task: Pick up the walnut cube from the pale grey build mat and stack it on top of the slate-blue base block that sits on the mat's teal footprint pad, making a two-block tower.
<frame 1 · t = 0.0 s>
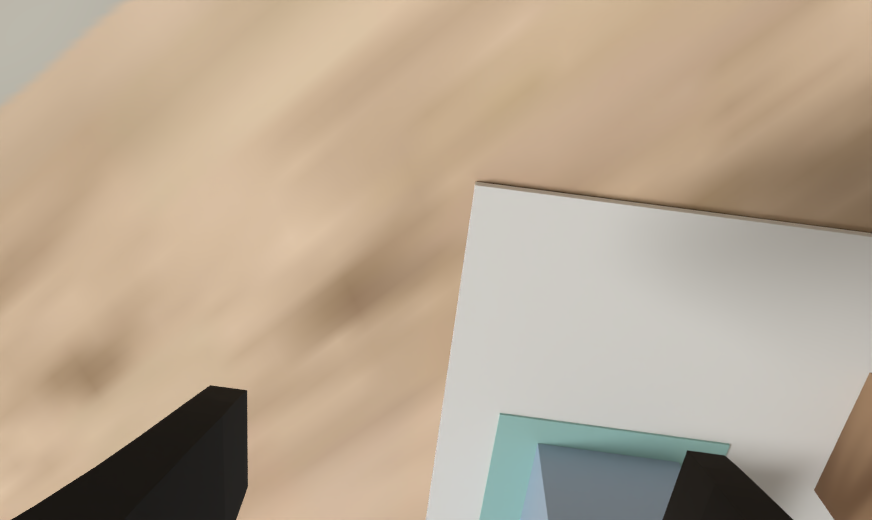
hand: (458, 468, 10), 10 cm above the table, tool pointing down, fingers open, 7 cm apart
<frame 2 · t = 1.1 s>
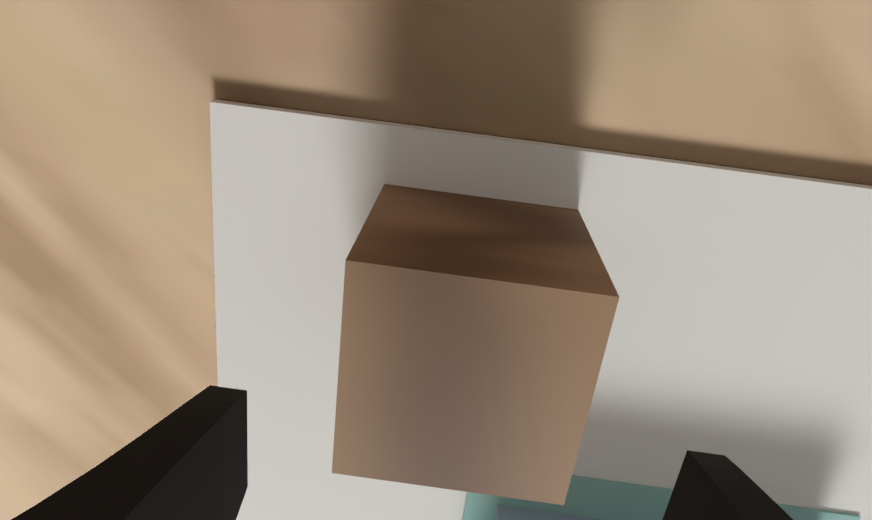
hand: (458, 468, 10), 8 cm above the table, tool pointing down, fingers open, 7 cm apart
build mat: (598, 469, 19), on the table
walnut cube: (467, 284, 17), resting on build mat
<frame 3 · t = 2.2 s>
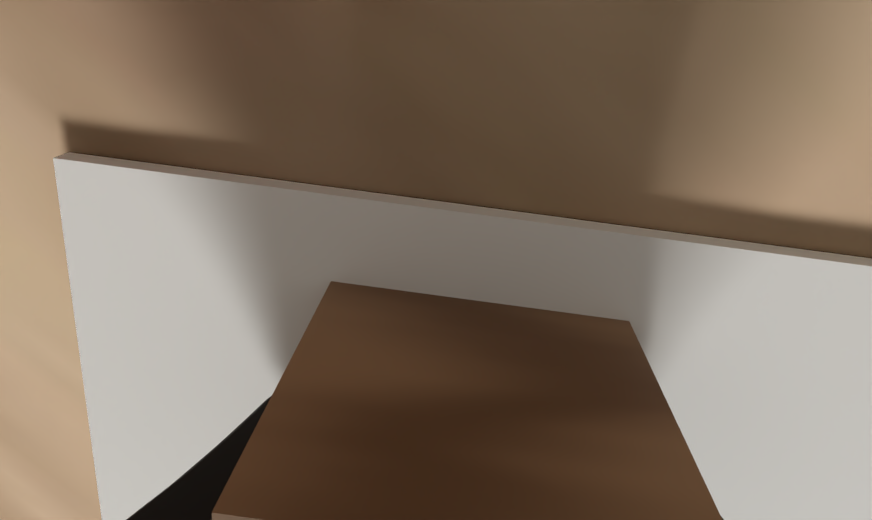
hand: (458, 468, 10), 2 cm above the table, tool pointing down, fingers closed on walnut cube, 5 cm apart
walnut cube: (459, 422, 11), resting on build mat, touching gripper
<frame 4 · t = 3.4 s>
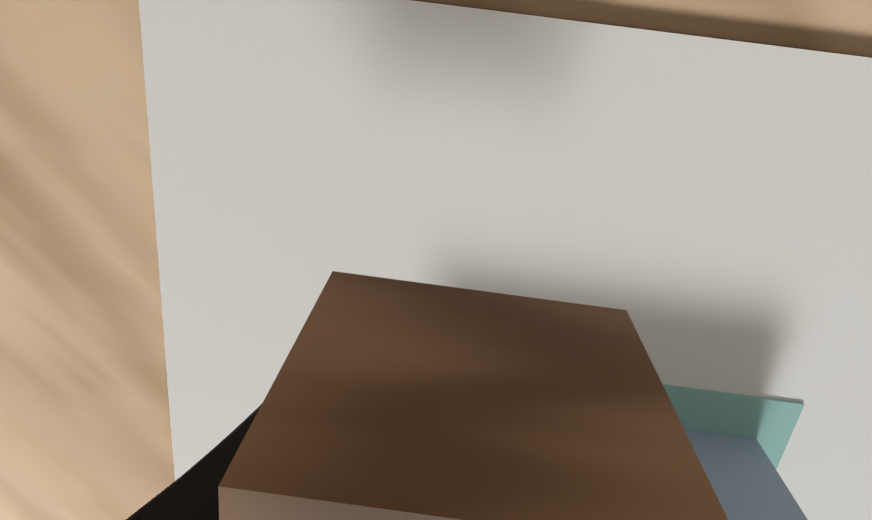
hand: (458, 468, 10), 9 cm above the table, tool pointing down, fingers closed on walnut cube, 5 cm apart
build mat: (544, 362, 19), on the table
walnut cube: (459, 411, 11), point 7 cm above the table, touching gripper
base block: (583, 478, 20), resting on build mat
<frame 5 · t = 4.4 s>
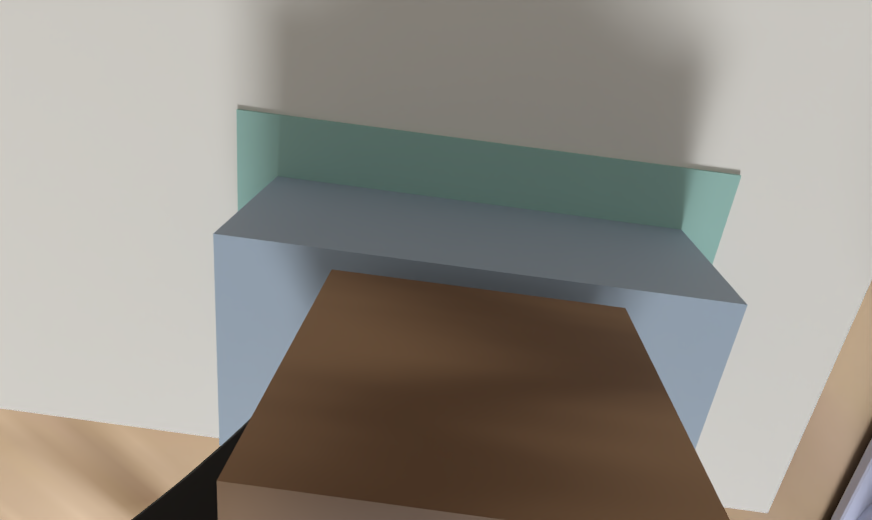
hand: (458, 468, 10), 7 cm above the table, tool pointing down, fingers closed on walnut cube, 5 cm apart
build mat: (406, 127, 15), on the table
walnut cube: (458, 409, 11), point 6 cm above the table, touching gripper
base block: (464, 293, 16), resting on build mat
when the fingers open (7 cm above the table, at t = 4.8 s): walnut cube drops 1 cm, resting on base block.
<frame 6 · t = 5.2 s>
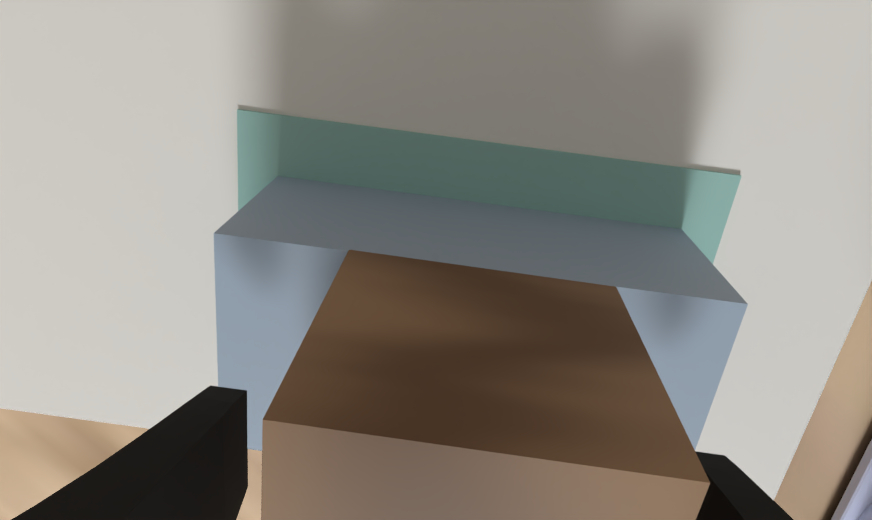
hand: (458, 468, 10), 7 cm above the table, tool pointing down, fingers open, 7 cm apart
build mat: (406, 127, 15), on the table
walnut cube: (463, 380, 12), point 4 cm above the table, touching base block
base block: (465, 292, 16), resting on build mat, touching walnut cube
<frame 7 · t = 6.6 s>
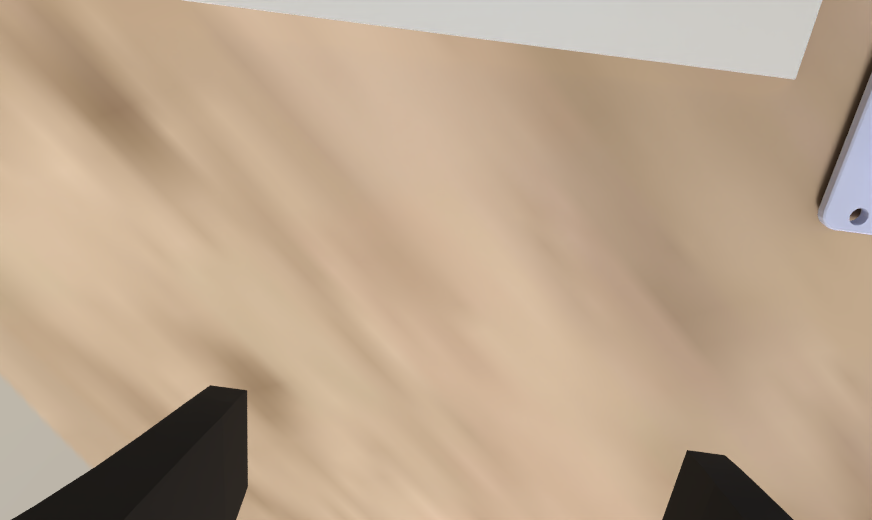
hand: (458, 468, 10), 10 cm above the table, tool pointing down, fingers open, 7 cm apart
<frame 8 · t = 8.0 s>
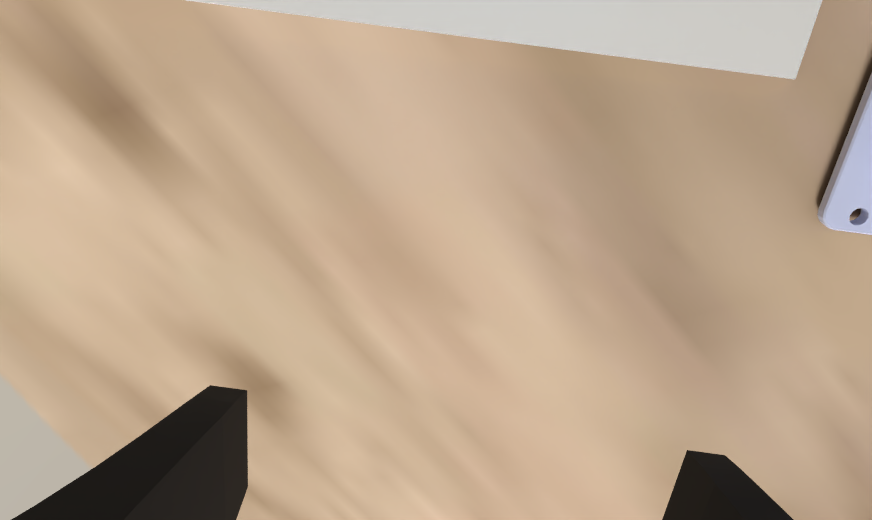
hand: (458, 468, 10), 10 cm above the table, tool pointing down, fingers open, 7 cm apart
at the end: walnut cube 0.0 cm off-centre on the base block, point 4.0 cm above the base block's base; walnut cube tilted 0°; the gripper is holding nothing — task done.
